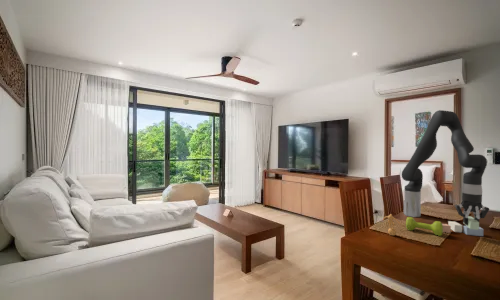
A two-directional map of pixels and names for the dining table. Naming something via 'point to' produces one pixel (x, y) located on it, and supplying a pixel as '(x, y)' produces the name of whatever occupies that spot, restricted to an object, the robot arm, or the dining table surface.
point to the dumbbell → (424, 226)
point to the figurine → (390, 230)
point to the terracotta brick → (446, 228)
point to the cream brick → (455, 226)
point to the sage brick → (472, 223)
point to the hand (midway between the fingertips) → (471, 224)
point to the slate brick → (472, 231)
